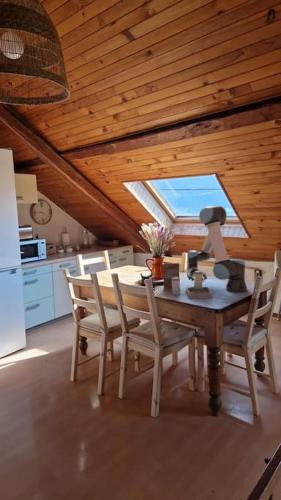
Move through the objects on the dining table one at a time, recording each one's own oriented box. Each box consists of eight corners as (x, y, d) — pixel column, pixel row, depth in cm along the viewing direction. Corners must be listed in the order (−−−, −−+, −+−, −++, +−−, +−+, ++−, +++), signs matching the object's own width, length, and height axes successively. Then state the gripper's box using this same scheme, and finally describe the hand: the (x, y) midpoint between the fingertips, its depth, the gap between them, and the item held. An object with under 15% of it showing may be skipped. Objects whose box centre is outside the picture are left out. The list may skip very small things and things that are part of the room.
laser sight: (146, 290, 269) (145, 277, 267) (138, 283, 290) (138, 271, 289) (158, 288, 271) (158, 276, 270) (149, 282, 293) (149, 270, 291)
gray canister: (181, 293, 255) (180, 277, 254) (178, 295, 250) (178, 279, 248) (173, 293, 258) (173, 277, 256) (171, 295, 252) (170, 278, 251)
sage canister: (203, 287, 251) (203, 271, 250) (200, 289, 246) (200, 273, 245) (196, 286, 254) (196, 270, 252) (193, 288, 249) (193, 272, 248)
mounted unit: (163, 288, 272) (163, 263, 269) (179, 287, 272) (178, 262, 269) (164, 290, 264) (163, 265, 261) (180, 290, 264) (179, 264, 261)
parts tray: (186, 292, 259) (186, 287, 258) (207, 291, 259) (207, 287, 258) (189, 298, 243) (189, 293, 242) (212, 297, 243) (212, 292, 242)
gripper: (206, 277, 268) (212, 285, 245) (182, 278, 268) (186, 285, 245) (206, 268, 266) (212, 274, 243) (182, 268, 267) (186, 275, 244)
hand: (199, 280), depth 244 cm, fingers closed on sage canister, 5 cm apart
